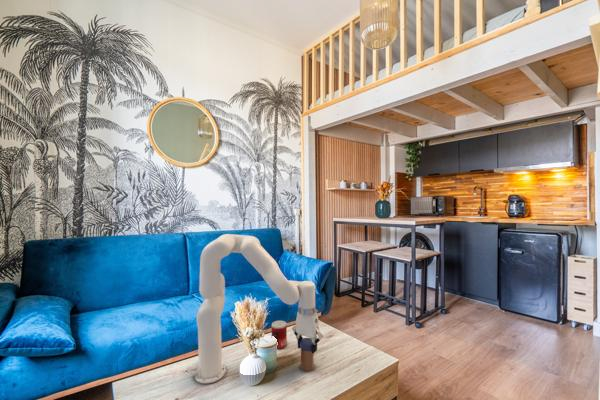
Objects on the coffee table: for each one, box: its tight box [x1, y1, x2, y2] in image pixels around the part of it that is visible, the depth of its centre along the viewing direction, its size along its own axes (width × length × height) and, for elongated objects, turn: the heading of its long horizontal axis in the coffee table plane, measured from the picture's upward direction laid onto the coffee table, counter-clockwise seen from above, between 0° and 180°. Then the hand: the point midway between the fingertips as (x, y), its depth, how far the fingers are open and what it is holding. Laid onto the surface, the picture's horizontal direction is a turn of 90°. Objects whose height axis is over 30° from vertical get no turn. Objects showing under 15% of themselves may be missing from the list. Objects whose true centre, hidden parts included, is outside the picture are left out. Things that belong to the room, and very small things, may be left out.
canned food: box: [271, 320, 288, 350], centre depth 142 cm, size 8×8×11 cm
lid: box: [299, 337, 313, 351], centre depth 124 cm, size 7×7×2 cm
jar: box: [300, 348, 315, 372], centre depth 124 cm, size 6×6×11 cm
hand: (307, 349), depth 124 cm, fingers closed on lid, 6 cm apart
